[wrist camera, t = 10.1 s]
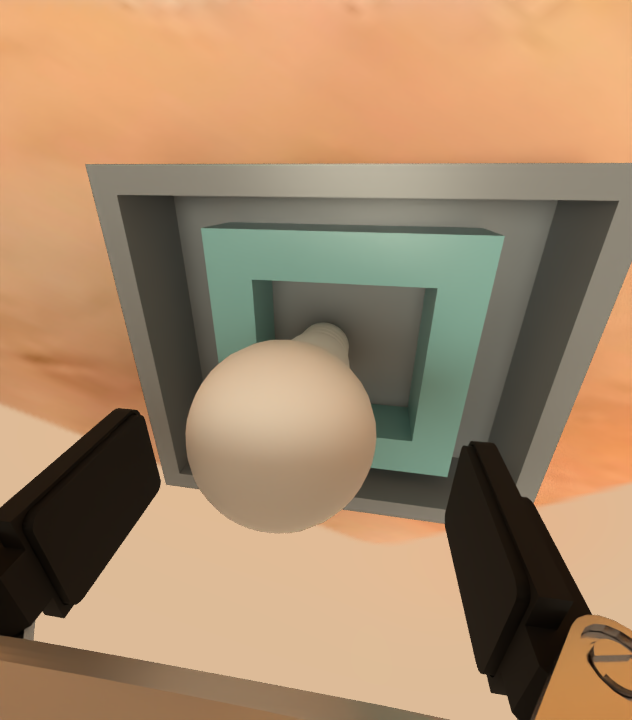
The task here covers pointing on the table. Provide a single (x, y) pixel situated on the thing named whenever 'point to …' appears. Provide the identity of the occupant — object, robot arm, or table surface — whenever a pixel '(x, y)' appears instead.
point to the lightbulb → (282, 432)
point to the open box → (378, 297)
